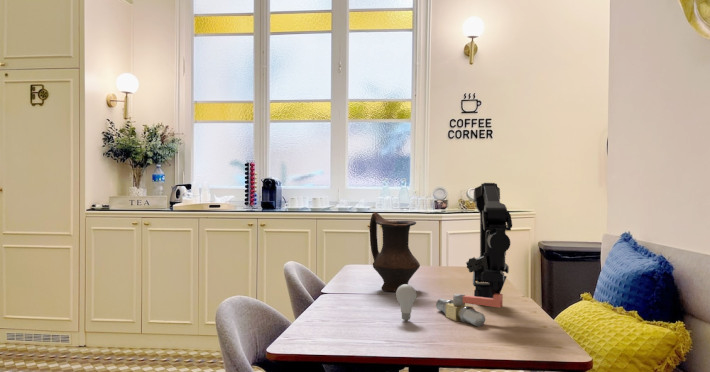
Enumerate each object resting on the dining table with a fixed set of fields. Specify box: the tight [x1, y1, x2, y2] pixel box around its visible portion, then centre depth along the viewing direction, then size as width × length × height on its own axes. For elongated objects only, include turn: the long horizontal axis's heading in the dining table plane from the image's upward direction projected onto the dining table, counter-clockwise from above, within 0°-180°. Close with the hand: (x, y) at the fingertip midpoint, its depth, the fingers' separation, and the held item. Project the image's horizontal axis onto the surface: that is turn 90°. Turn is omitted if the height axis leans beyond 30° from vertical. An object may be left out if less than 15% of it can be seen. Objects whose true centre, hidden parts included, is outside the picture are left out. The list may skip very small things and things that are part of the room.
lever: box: [452, 293, 504, 308], centre depth 167 cm, size 15×4×4 cm, turn 58°
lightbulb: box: [395, 283, 417, 322], centre depth 166 cm, size 6×6×11 cm
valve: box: [435, 297, 486, 327], centre depth 170 cm, size 6×22×5 cm, turn 20°
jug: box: [369, 212, 421, 293], centre depth 219 cm, size 21×18×30 cm
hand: (495, 300), depth 167 cm, fingers closed
